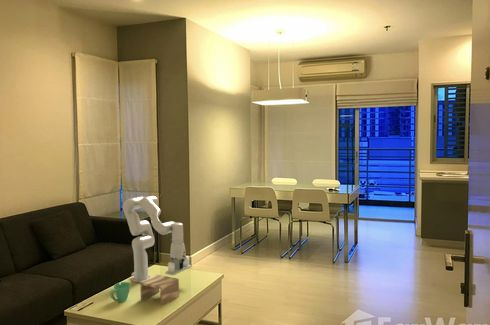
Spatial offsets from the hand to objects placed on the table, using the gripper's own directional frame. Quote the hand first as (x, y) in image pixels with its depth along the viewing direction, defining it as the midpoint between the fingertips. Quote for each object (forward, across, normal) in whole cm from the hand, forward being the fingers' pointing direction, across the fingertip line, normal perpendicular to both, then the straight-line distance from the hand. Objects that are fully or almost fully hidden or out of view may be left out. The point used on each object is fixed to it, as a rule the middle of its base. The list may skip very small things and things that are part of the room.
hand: (178, 267), depth 276 cm
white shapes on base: (+2, 0, 0) cm, 2 cm away
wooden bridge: (+14, 0, -20) cm, 24 cm away
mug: (+14, -19, -36) cm, 43 cm away
